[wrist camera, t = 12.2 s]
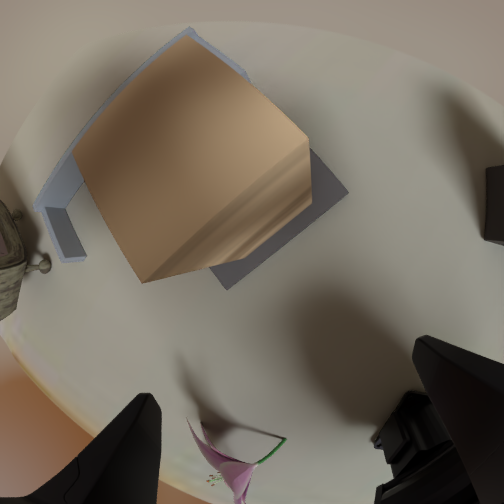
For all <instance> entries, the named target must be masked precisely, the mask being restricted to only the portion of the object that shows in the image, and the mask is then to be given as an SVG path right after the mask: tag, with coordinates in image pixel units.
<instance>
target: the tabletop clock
mask: <svg viewBox="0 0 504 504" xmlns="http://www.w3.org/2000/svg"><path fill="white" fill-rule="evenodd" d="M21 216H22V212H21V211H20V210H19V209H15V210H14V211H13V213H12V216H11V214H10V212H9V210H8V209H7V207H6V206H5V204H4V203H3V202H2V201H1V200H0V321H1V320H3V319H4V318H6V317H7V316H8V315H10V314H11V313H12V312H13V311H14V310H16V307H17V302H18V297H19V292H20V287H21V283H22V279H23V275H24V273H26V272H29V271H34V270H38V269H39V270H40V272H41V273H43V274H46V273H48V272H49V271H50V269H51V264H50V262H49V261H48V260H42V261H41V262H40V263H39V265H26V263H27V251H26V247H25V245H24V242H23V240H22V237H21V235H20V232H19V230H18V227H17V225H16V223H15V222H14V220H15V221H18V220H20V219H21Z"/></svg>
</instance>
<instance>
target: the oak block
mask: <svg viewBox="0 0 504 504" xmlns="http://www.w3.org/2000/svg"><path fill="white" fill-rule="evenodd" d="M72 154H73V156H74V159H75V161H76V163H77V166H78V168H79V170H80V172H81V174H82V177H83V179H84V181H85V183H86V185H87V187H88V189H89V191H90V193H91V195H92V197H93V199H94V201H95V203H96V205H97V207H98V209H99V211H100V213H101V215H102V217H103V219H104V220H105V222H106V224H107V226H108V228H109V230H110V231H111V233H112V235H113V237H114V238H115V240H116V242H117V244H118V245H119V247H120V249H121V250H122V252H123V254H124V256H125V257H126V259H127V260H128V262H129V264H130V265H131V267H132V269H133V270H134V272H135V273H136V275H137V277H138V278H139V280H140V281H141V283H142V284H143V283H147V282H151V281H155V280H159V279H163V278H167V277H171V276H175V275H179V274H183V273H187V272H191V271H195V270H199V269H203V268H207V267H211V266H215V265H219V264H223V263H227V262H231V261H235V260H239V259H243V258H245V257H247V256H248V255H249V254H250V253H251V252H253V251H254V250H255V249H256V248H258V247H259V246H260V245H261V244H263V243H264V242H265V241H266V240H267V239H269V238H270V237H271V236H272V235H274V234H275V233H276V232H277V231H279V230H280V229H281V228H282V227H283V226H285V225H286V224H287V223H288V222H290V221H291V220H292V219H293V218H295V217H296V216H297V215H298V214H299V213H301V212H302V211H303V210H304V209H306V208H307V207H308V206H309V205H311V204H312V187H311V166H310V150H309V138H308V137H307V136H306V135H305V134H304V133H303V132H302V131H301V130H300V129H299V128H298V127H297V126H296V125H295V124H294V123H293V122H292V121H291V120H290V119H289V118H288V117H287V116H286V115H285V114H284V113H283V112H282V111H281V110H280V109H279V108H277V107H276V106H275V105H274V104H273V103H272V102H271V101H270V100H269V99H268V98H267V97H265V96H264V95H263V94H262V93H261V92H260V91H259V90H258V89H256V88H255V87H254V86H253V85H252V84H251V83H249V82H248V81H247V80H246V79H245V78H243V77H242V76H241V75H240V74H239V73H237V72H236V71H235V70H234V69H232V68H231V67H230V66H229V65H227V64H226V63H225V62H224V61H222V60H221V59H220V58H218V57H217V56H216V55H214V54H213V53H212V52H210V51H209V50H208V49H206V48H205V47H203V46H202V45H201V44H199V43H198V42H196V41H195V40H194V39H192V38H191V37H189V36H188V35H185V36H184V37H182V38H181V39H180V40H178V41H177V42H176V43H175V44H173V45H172V46H171V47H170V48H168V49H167V50H166V51H165V52H163V53H162V54H161V55H160V56H159V57H158V58H156V59H155V60H154V61H153V62H152V63H151V64H150V65H148V66H147V67H146V68H145V69H144V70H143V71H142V72H141V73H140V74H139V75H138V76H137V77H136V78H135V79H133V80H132V81H131V82H130V83H129V84H128V85H127V86H126V87H125V88H124V89H123V91H122V92H121V93H120V94H119V95H118V96H117V97H116V98H115V99H114V100H113V101H112V102H111V103H110V104H109V105H108V107H107V108H106V109H105V110H104V111H103V112H102V113H101V115H100V116H99V117H98V118H97V119H96V121H95V122H94V123H93V124H92V125H91V127H90V128H89V129H88V130H87V132H86V133H85V134H84V135H83V137H82V138H81V139H80V141H79V142H78V143H77V145H76V146H75V147H74V149H73V150H72Z"/></svg>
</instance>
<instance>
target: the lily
mask: <svg viewBox="0 0 504 504" xmlns="http://www.w3.org/2000/svg"><path fill="white" fill-rule="evenodd" d="M186 419H187V418H186ZM187 422H188V420H187ZM188 424H189V422H188ZM189 427H190V430H191V432H192V434H193V437H194V439H195V441H196V443H197V445H198V447H199V449H200V451H201V453H202V454H203V456H204V457H205V458H206V460H207V461H208V462H209V463H210V464H211V465H212V466H213V467H214V468H215V469H216V470H218V471H219V472H217V473H221V475H222V477H218V479H215V478H212V479H214V480H208V481H207V482H211V481H215V480H219V479H222V478H223V480H224V482H225V484H226V485H227V486H228V487H229V488H230V489H231V490H232V491H233V492H234V503H235V504H241V500H242V501H243V503H244V504H246V503H245V497H246V493H247V489H248V486H249V483H250V479H251V476H252V473H253V470H254V468H255V467H256V466H258V465H259V464H261V463H262V462H264V461H265V460H266V459H268V458H269V457H270V456H272V455H273V454H274V453H275V452H276V451H277V450H278V449H279V448H280V447H281V446H282V445H283V443H284V442H285V441H286V440H287V439H286V438H284V439H283V440H282V441H281V442H280V443H279V444H278V445H277V446H276V447H275V448H274V449H273V450H272V451H271V452H270V453H269V454H268V455H267V456H265V457H264V458H263V459H261V460H259V461H258V462H256V463H254V464H249V463H245V462H242V461H239V460H236V459H234V458H232V457H229V456H227V455H225V454H223V453H221V452H220V451H219V450H217V449H216V448H215V447H214V446H213V444H212V443H211V442H210V440H209V438H208V436H207V434H206V433H205V430H204V428H203V426H202V424H201V428H202V431H203V434H204V436H205V438H206V440H207V441H208V443H209V444H210V446H211V448H210V447H209V446H207V445H206V444H204V443H203V442H202V441H201V440H200V439H199V438H198V437H197V436H196V434H195V433H194V431H193V429H192V427H191V425H190V424H189ZM221 475H217V476H221ZM210 476H212V477H213V475H210ZM220 481H222V480H220ZM220 481H218V482H220ZM216 483H217V482H216ZM213 485H215V483H214V484H213ZM213 485H211V486H213Z"/></svg>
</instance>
